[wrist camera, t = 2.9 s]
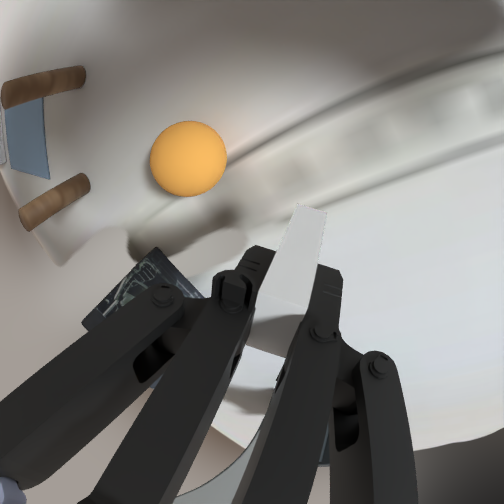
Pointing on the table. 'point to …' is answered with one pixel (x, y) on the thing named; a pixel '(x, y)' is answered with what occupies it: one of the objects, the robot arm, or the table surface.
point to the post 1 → (41, 85)
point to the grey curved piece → (234, 478)
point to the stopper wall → (1, 143)
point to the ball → (188, 158)
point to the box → (140, 287)
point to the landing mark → (27, 138)
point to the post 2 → (53, 201)
